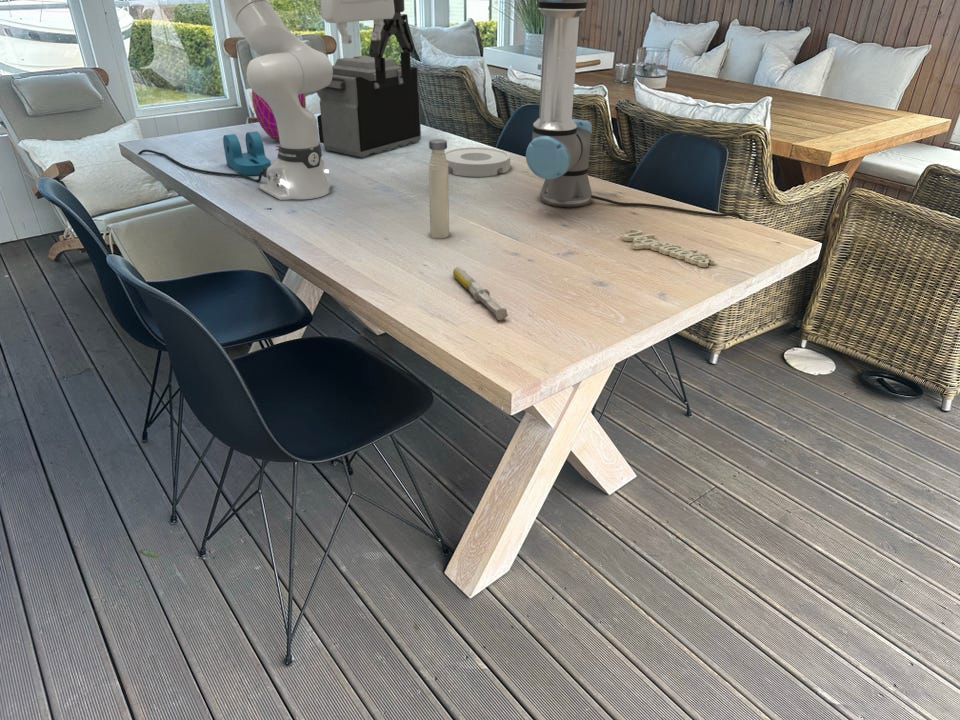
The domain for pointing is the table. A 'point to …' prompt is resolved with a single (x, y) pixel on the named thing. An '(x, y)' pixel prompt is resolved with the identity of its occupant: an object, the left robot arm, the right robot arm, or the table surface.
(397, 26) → the right robot arm
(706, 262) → the decorative sign
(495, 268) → the table surface
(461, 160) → the ashtray
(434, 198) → the bottle
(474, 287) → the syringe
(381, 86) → the cooler box
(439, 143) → the cap
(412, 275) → the table surface
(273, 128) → the decorative egg
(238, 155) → the camera mount
